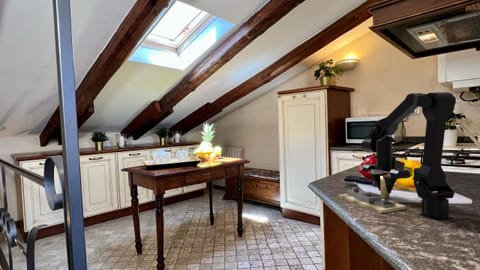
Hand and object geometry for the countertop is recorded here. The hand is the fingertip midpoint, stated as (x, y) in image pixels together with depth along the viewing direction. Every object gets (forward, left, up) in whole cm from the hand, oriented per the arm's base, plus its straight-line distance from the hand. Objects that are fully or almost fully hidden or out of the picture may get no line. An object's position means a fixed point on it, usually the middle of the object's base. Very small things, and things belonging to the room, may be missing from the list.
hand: (385, 192), depth 108 cm
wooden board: (-2, +9, -2) cm, 10 cm away
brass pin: (0, 0, -2) cm, 2 cm away
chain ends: (-2, +9, -2) cm, 10 cm away
